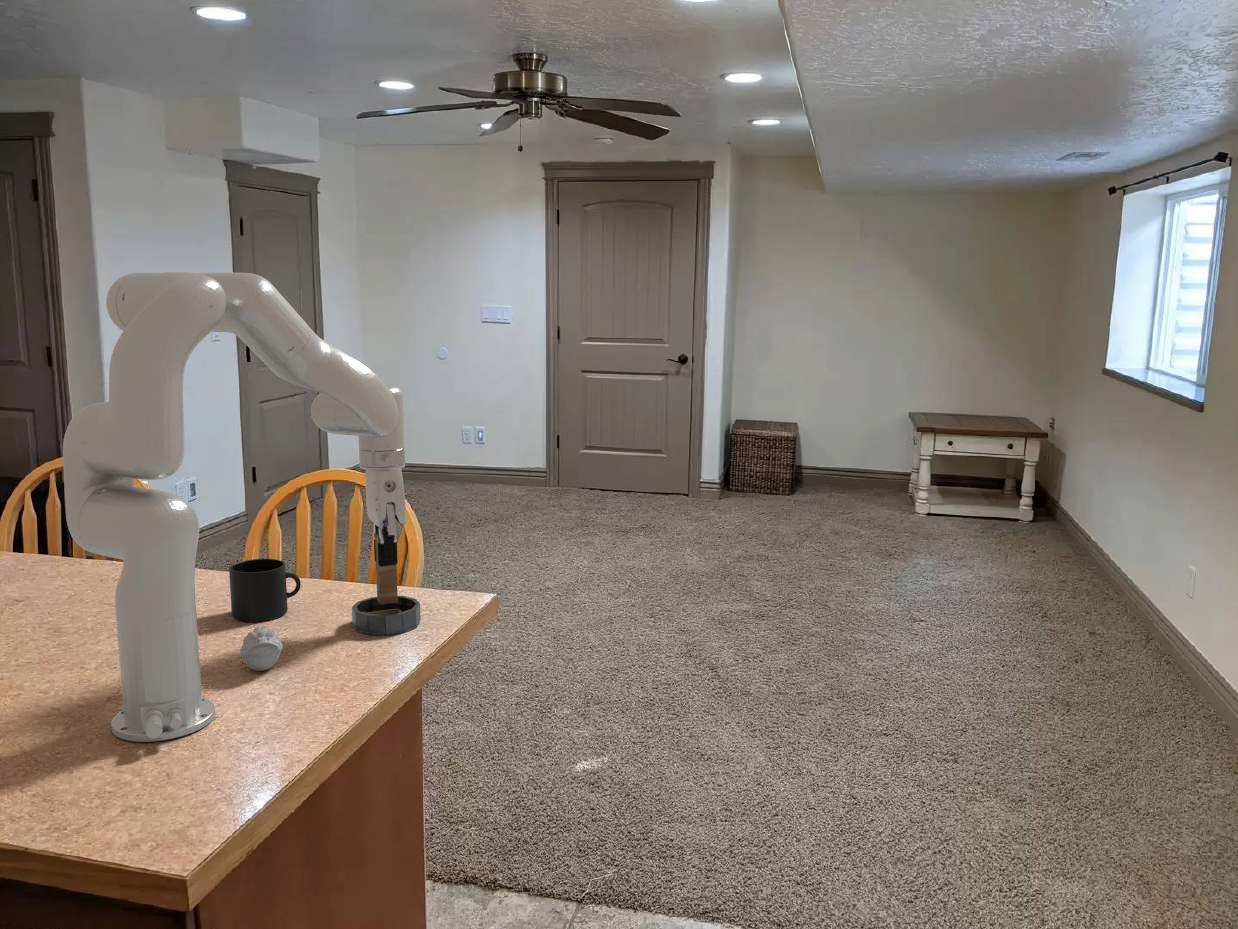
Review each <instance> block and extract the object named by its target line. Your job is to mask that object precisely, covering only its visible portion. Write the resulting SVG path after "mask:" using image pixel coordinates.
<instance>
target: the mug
mask: <svg viewBox="0 0 1238 929" xmlns="http://www.w3.org/2000/svg"><path fill="white" fill-rule="evenodd" d="M286 570H287V566H286V562H285V561H283V560H281V559H275V558H274V559H273V558H257V559H254V558H253V559H248V560H247V559H246V560H241V561H239V562H235V563H233V564H231V565H230V566H229V569H228V571H229V572H228V573H229V574H228V575H229V591H230V593H229V594H230V608H231V609H230V610H231V616H232V619H234V620H236V621H240V622H246V623H259V622H267V621H272V620H276V619H279V618H281V617H283V616H285V615H286V614H287V612H288V607H289V606H288V599H290V598H291V597H294V596H295V595H298V593H299V592H300V589H301V585H302V583H301V579H300V578H299V576H298V574H296V573H293V572H287V571H286ZM287 579H293V580H294V581H295V588H294V589H293V590H292V591H290V592H289V591H287Z"/></svg>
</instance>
